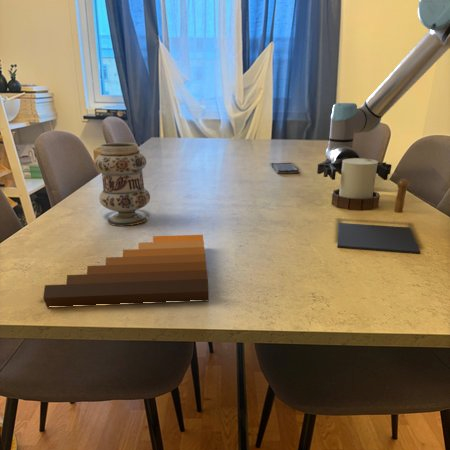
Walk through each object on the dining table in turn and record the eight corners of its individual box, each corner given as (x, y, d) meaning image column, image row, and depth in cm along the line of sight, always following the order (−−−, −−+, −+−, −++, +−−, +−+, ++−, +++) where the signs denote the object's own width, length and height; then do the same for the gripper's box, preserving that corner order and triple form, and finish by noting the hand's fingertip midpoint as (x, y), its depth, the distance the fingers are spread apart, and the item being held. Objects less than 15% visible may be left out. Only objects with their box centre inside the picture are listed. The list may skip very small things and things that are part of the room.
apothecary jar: (151, 212, 113) (145, 140, 105) (152, 226, 103) (145, 147, 95) (104, 214, 112) (94, 141, 103) (100, 229, 101) (88, 148, 93)
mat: (409, 229, 100) (410, 227, 99) (419, 254, 86) (420, 251, 86) (338, 224, 103) (338, 222, 103) (337, 247, 89) (337, 245, 89)
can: (378, 205, 118) (386, 159, 113) (356, 210, 114) (362, 163, 108) (352, 198, 125) (358, 155, 120) (330, 203, 120) (335, 158, 115)
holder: (399, 201, 122) (404, 170, 118) (404, 213, 111) (410, 180, 107) (332, 197, 126) (335, 168, 122) (330, 209, 115) (334, 177, 111)
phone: (290, 162, 170) (299, 170, 157) (290, 165, 170) (298, 173, 157) (270, 163, 169) (277, 170, 156) (270, 166, 170) (277, 173, 157)
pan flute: (46, 310, 66) (208, 303, 68) (41, 290, 65) (208, 283, 66) (81, 251, 88) (203, 247, 90) (78, 235, 87) (202, 231, 88)
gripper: (384, 173, 133) (405, 189, 115) (303, 173, 135) (311, 188, 116) (388, 148, 130) (411, 160, 111) (304, 147, 131) (313, 159, 112)
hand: (360, 174), depth 114 cm, fingers open, 13 cm apart
